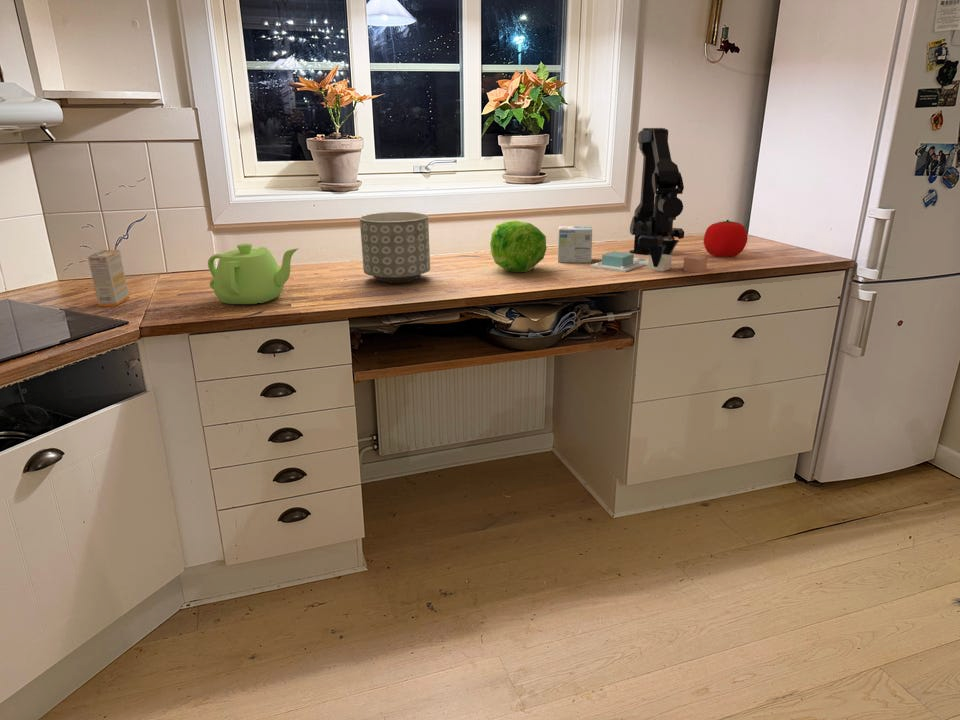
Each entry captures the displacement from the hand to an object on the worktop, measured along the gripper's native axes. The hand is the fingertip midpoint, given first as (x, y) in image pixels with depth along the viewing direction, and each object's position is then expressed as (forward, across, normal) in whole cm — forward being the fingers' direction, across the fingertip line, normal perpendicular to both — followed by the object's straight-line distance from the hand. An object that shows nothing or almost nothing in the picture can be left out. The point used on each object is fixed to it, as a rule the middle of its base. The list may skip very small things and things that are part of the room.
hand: (659, 265), depth 205 cm
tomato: (+1, -30, +8) cm, 31 cm away
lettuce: (+1, +27, -34) cm, 43 cm away
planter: (+1, +58, -53) cm, 79 cm away
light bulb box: (+1, +5, -27) cm, 27 cm away
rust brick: (+1, -5, +9) cm, 10 cm away
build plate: (+1, +4, -12) cm, 13 cm away
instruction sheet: (+1, -6, -10) cm, 12 cm away
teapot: (+1, +95, -67) cm, 116 cm away
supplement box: (+1, +120, -94) cm, 152 cm away
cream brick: (+1, 0, 0) cm, 1 cm away
